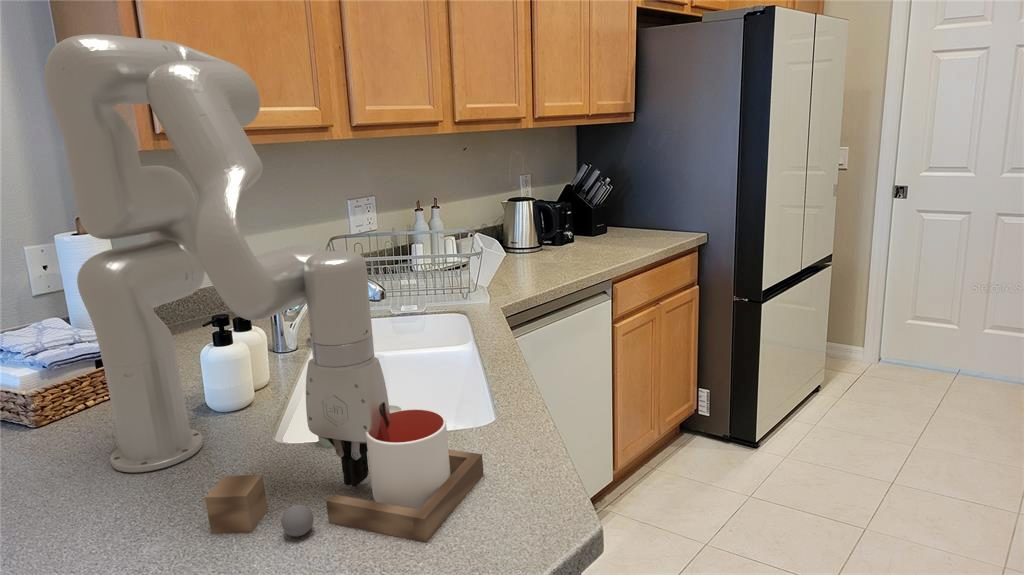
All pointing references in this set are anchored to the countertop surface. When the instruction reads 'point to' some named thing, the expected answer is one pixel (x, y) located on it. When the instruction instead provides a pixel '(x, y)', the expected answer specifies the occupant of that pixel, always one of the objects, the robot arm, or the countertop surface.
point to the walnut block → (236, 504)
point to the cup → (409, 459)
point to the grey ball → (297, 520)
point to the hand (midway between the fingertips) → (356, 480)
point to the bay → (409, 520)
